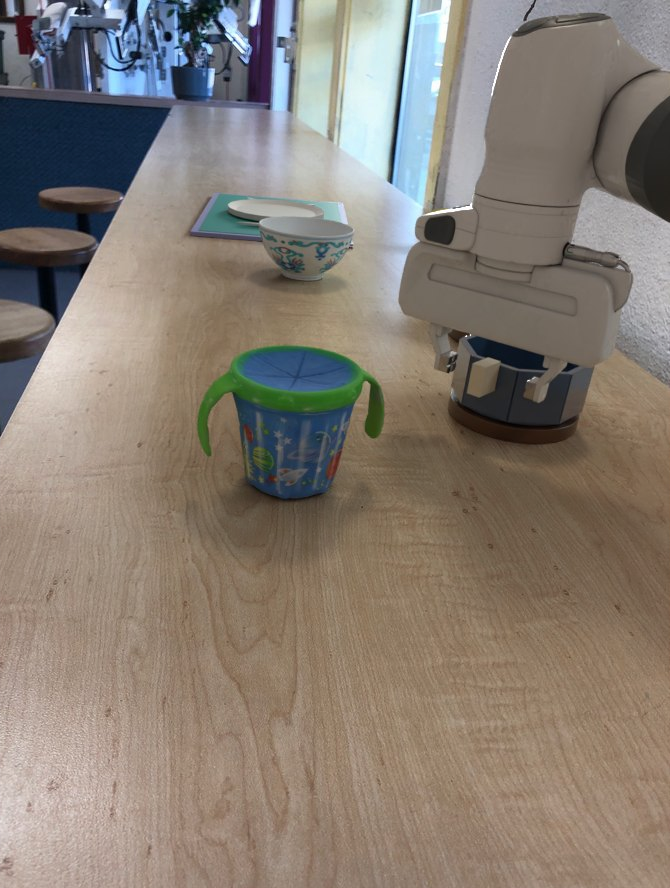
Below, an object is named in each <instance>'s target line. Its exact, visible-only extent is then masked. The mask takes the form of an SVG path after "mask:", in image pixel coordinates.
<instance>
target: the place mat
mask: <svg viewBox="0 0 670 888" xmlns="http://www.w3.org/2000/svg"><path fill="white" fill-rule="evenodd" d="M279 216H299V217H312V218H320V219H327V220H332V221H337V222H340V223H344V224H347V225H349V222H348V217H347V214H346V209H345V206H344V203H343V202H335V201H320V200H311V199H310V200H308V199H298V198H297V199H296V198H285V197H284V198H283V197H273V196H272V197H270V196H261V195H259V196H258V195H247V194H233V193H222V192H220V193H219V192H214V193H213V194H212V196H211V197H210V199H209V200H208V203H207V204H206V206H205V207H204V209H203V210H202V211H201V213H200V215H199V217H198V218H197V220H196V221H195V223H194V225H193V227H192V228H191V229H190V231H189V232H190V235H189V236H190V237H191V236H192V237H201V238H213V239H215V238H216V239H228V240H240V241H253V242H262V239H261V235H260V230H259V221H260V220H262V219H265V218H270V217H279ZM350 246H353V247H354V242H353V240H352V241H351V244H350Z"/></svg>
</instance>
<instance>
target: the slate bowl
mask: <svg viewBox="0 0 670 888" xmlns="http://www.w3.org/2000/svg"><path fill="white" fill-rule="evenodd" d="M457 353H458V358H457V360H456V361H455V362H456V367H455V369H454V371H453V372H452V373H453V374H452V377H451V378H452V379H451V384H450V386H451V389H453V390H454V392H455V394H456V396H457V398H458V399H459V401H460V403H461V404H462V405H463V406H466V407H468V408H469V409H471V410H473V411H475V412H477V413H479V414H481V415H483V416H486V417H489V418H492V419H495V420H499V421H503V422H507V423H513V424H519V425H529V426H547V425H558V424H561V423H563V422H565V421H567V420H568V419H570V418H572V417H574V416H575V415H577V414H579V415H580V414H581V413H582V412H583V409H584V407H585V403H586V399H587V395H588V391H589V388H590V385H591V381H592V377H593V374H594V370H595V367H596V366H594V367H591V368H586V367H582V366H579V365H575V364H572V363H569V362H567V366H566V367H565V368H564V369H563V370H562V371H561V372H560V373H559V374H558V375H557V376H556V377H555V378H554V379H553V380H552V381H551V382H549V386H548V390H547V394H546V397H545V399H544V400H543V401H541V402H540V403H537V402H534V401H531V400H528V399H525V398H523V395H524V392H525V391H526V389H525V386H526V382H527V381H528V380H530V379H532V378H533V377H538V378H540V377H541V376H542V375H543V374H544V373H545V372H546V371H547V370H548V369H549V368H545V367H543V362H544V357H545V356H544V355H541V354H537V353H534V352H531V351H527V350H524V349H520V348H517V347H513V346H510V345H506V344H503V343H499V342H496V341H493V340H489V339H486V338H482V337H479V336H475V335H472V334H471V335H468V336H465V337H462V338H460V340H459V342H458V347H457Z"/></svg>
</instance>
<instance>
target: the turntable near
mask: <svg viewBox="0 0 670 888" xmlns="http://www.w3.org/2000/svg"><path fill="white" fill-rule="evenodd" d="M447 409H448V412H449V415H450V416H451V417H452V418H453V419H454V420H455V421H456V422H458V423H459V424H460V425H462V426H464V427H465V428H467V429H470V430H472V431H473V432H476V433H479V434H481V435H484V436H486V437H490V438H493V439H497V440H501V441H506V442H512V443H519V444H520V443H521V444H534V445H535V444H540V445H541V444H543V445H544V444H552V443H558V442H562V441H564V440H567V439H569V438H571V437H572V436H573V435H574V434H575V432H576V430H577V427H578V424H579V420H580V413H579V414H577V415H575V416H574V417H572V418H570V419H568V420H567V421H565V422H563V423H561V424H558V425H547V426H529V425H519V424H513V423H507V422H503V421H499V420H495V419H492V418H489V417H486V416H483V415H481V414H479V413H477V412H475V411H473V410H471V409H469V408H468V407H466V406H463V405H462V404H461V403H460V401H459V399H458V398H457V396H456V394H455V392H454V390H453V388H451V390H450V394H449V399H448V405H447Z"/></svg>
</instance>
